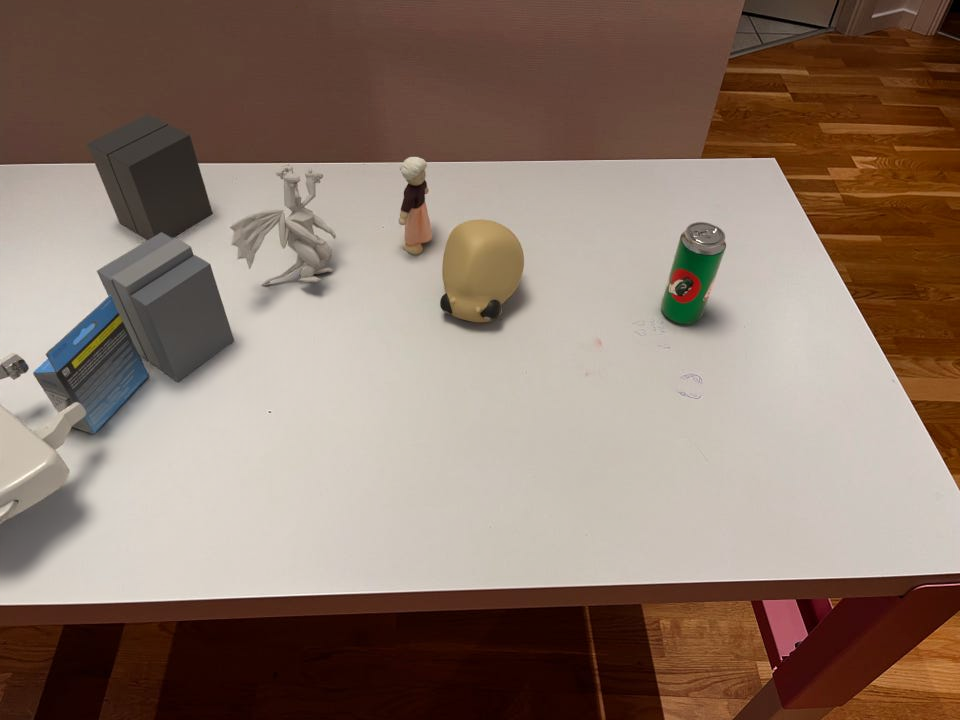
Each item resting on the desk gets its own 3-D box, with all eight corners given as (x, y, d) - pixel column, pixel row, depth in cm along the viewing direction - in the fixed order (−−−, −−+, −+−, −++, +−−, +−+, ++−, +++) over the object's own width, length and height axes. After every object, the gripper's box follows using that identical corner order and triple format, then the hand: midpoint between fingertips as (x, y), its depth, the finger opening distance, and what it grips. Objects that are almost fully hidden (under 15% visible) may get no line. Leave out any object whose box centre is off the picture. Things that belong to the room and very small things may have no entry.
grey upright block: (134, 351, 84) (94, 266, 74) (190, 312, 88) (160, 228, 79) (178, 382, 81) (142, 298, 72) (234, 340, 85) (207, 256, 76)
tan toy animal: (443, 311, 95) (415, 310, 84) (463, 218, 93) (437, 206, 83) (517, 328, 92) (497, 330, 82) (538, 233, 91) (521, 223, 81)
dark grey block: (119, 222, 99) (86, 143, 90) (173, 191, 104) (147, 113, 95) (158, 246, 96) (128, 166, 87) (213, 213, 101) (189, 134, 92)
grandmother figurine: (426, 261, 96) (423, 177, 86) (397, 257, 96) (391, 173, 87) (437, 225, 101) (436, 142, 91) (410, 222, 101) (405, 139, 92)
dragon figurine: (232, 305, 85) (197, 185, 80) (296, 261, 101) (270, 159, 96) (310, 298, 83) (279, 174, 78) (363, 254, 99) (340, 149, 94)
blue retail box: (121, 366, 82) (80, 282, 73) (151, 376, 81) (112, 293, 72) (64, 425, 77) (11, 342, 67) (94, 436, 76) (45, 354, 67)
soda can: (705, 327, 89) (733, 248, 80) (663, 326, 89) (687, 247, 80) (697, 298, 92) (723, 220, 83) (656, 297, 92) (678, 219, 83)
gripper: (-49, 523, 58) (105, 413, 66) (-173, 400, 66) (-22, 314, 73) (-12, 561, 63) (128, 454, 70) (-131, 442, 70) (6, 357, 78)
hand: (50, 382), depth 72 cm, fingers open, 8 cm apart
